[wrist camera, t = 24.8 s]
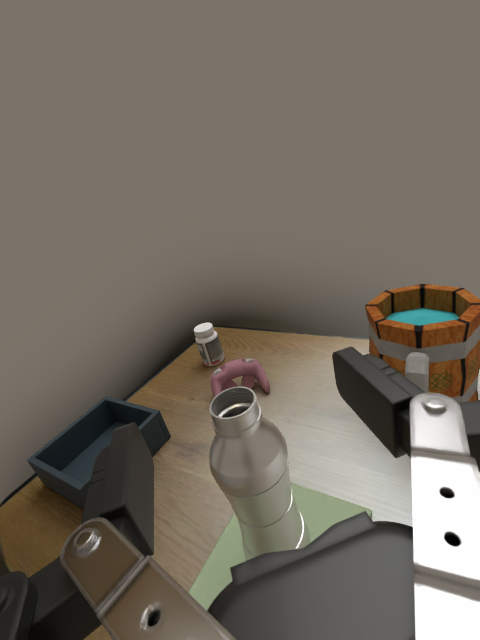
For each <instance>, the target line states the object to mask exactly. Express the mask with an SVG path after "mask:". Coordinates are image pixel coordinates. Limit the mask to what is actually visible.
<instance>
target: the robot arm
mask: <svg viewBox="0 0 480 640" xmlns="http://www.w3.org/2000/svg"><path fill="white" fill-rule="evenodd" d="M332 358H333V365H334V372H335V379H336V385H337V388H338V391H339V393H340V395H341V397H342V398H343V399H344V400H345V402H346V403H347V404H348V405H349V406H350V407H351V408H352V409H353V411H354V412H355V413H356V414H357V415H358V416H359V417H360V418H361V420H362V421H363V422H364V423H365V424H366V425H367V426H368V427H369V429H370V430H371V431H372V432H373V433H374V434H375V435H376V437H377V438H378V439H379V440H380V441H381V442H382V443H383V444H384V446H385V447H386V448H387V449H388V450H389V451H390V452H391V453H392V455H393V456H394V457H395V458H397V457H400V456H402V455H405V454H407V455H408V456H409V457H410V458H411V472H412V511H413V527H410V526H407V525H404V524H400V523H396V522H388V521H376V522H373V521H372V520H371V518H370V517H369V515H368V514H367V512H366V511H364V512H362V513H359V514H357V515H354V516H352V517H350V518H347V519H345V520H342V521H340V522H338V523H335V524H333V525H332V526H331V527H330V528H328V529H327V530H326V531H325V532H323V533H322V534H321V535H320V536H318V537H317V538H316V539H315V540H313V541H312V542H311V543H310V544H308V545H307V546H306V547H304V548H301V549H294V550H286V551H278V552H270V553H264V554H261V555H259V556H257V557H254V558H252V559H249V560H247V561H245V562H242V563H240V564H237V565H235V566H233V567H230V570H231V575H232V580H233V581H232V582H231V583H229V584H228V585H227V586H226V587H225V588H224V589H223V590H222V591H221V592H220V593H219V594H218V596H217V597H216V598H215V599H214V601H213V602H212V603H211V605H210V607H209V608H208V610H207V611H206V610H205V609H204V608H203V607H202V606H201V605H200V604H199V603H198V602H197V601H196V600H195V599H194V598H193V597H192V596H191V595H190V594H189V593H188V592H187V591H186V590H185V589H184V588H183V587H182V586H181V585H180V584H178V583H177V582H176V581H175V580H174V579H173V578H172V577H171V576H170V575H169V574H168V573H167V572H166V571H165V570H164V569H163V568H162V567H161V566H160V565H159V564H158V563H157V562H156V561H155V560H154V559H153V558H151V557H150V556H151V555H153V554H154V465H153V460H152V456H151V453H150V451H149V448H148V446H147V444H146V442H145V440H144V438H143V436H142V434H141V432H140V430H139V428H138V426H137V424H136V423H135V422H133V423H130V424H127V425H124V426H122V427H119V428H116V429H114V430H113V435H112V441H111V445H109V446H107V447H104V448H102V450H101V452H100V453H99V455H98V456H97V458H96V459H95V462H94V466H93V471H92V476H91V480H90V486H89V489H88V494H87V499H86V503H85V508H84V512H83V517H82V522H81V525H80V526H79V527H78V528H76V529H75V530H74V531H73V532H72V533H71V535H70V536H69V537H68V538H67V540H66V542H65V543H64V545H63V548H62V550H61V554H60V556H59V557H58V558H57V559H55V560H54V561H53V562H51V563H50V564H48V565H47V566H45V567H44V568H43V569H41V570H40V571H38V572H37V573H35V574H34V575H32V576H31V577H29V578H28V577H27V576H26V575H25V574H24V573H23V572H20V571H15V572H11V573H8V574H6V575H4V576H2V577H0V640H83V639H84V638H86V637H87V636H88V635H89V634H90V633H92V632H93V631H94V630H95V629H97V628H98V627H99V626H100V625H103V626H104V628H105V629H106V631H107V632H108V633H109V635H110V636H111V638H112V639H113V640H480V476H479V472H480V400H479V401H470V402H459V403H457V402H456V401H455V400H454V399H452V398H451V397H449V396H446V395H443V394H439V393H426V392H424V391H423V390H422V389H420V388H419V387H418V386H417V385H415V384H414V383H413V382H411V381H410V380H409V379H407V378H406V377H405V376H403V375H402V374H401V373H398V371H397V370H395V369H394V368H393V367H390V365H389V364H388V363H386V362H385V361H384V360H382V359H381V358H378V357H376V356H373V355H370V354H366V355H362V354H361V353H359V352H358V351H357V350H356V349H354V348H353V347H348V348H345V349H342V350H340V351H337V352H334V353H333V355H332Z"/></svg>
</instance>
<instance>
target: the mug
mask: <svg viewBox="0 0 480 640" xmlns="http://www.w3.org/2000/svg"><path fill="white" fill-rule="evenodd" d="M365 308H366V312H367V316H368V321H369V332H370V346H369V352H370V355H373V356H376V357H378V358H381V359H382V360H384V361H385V362H386V363H388V364H389V365H390V367H393V368H394V369H395V370H397V371H398V373H401V374H402V375H403V376H405V377H406V378H407V379H409V380H410V381H411V382H413V383H414V384H415V385H417V386H418V387H419V388H420V389H422V390H423V391H424V392H426V393H439V394H443V395H446V396H449V397H451V398H452V399H454V400H455V401H456V402H457V403H459V402H470V401H478V392H477V383H478V373H479V369H480V299H479V298H477V297H476V296H474V295H473V294H471V293H470V292H469V291H467V290H466V289H464V288H457V287H448V286H438V285H429V284H419V285H414V286H408V287H403V288H397V289H392V290H387V291H384V292H383V293H381V294H380V295H379V296H377V297H376V298H375V299H373V300H372V301H370V302H369V303H368V304H366V305H365Z"/></svg>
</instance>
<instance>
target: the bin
mask: <svg viewBox="0 0 480 640" xmlns="http://www.w3.org/2000/svg"><path fill="white" fill-rule="evenodd" d="M133 422H135V423H136V424H137V426H138V428H139V430H140V432H141V434H142V436H143V438H144V440H145V442H146V444H147V446H148V448H149V451H150V453H151V456H152V457H153V456H154V455H155V454H156V452H157V451H158V450H159V449H160V448H161V447H162V446H163V445H164V444H165V442H166V441H167V440H168V439H169V438H170V437H171V436H170V434H169V431H168V429H167V427H166V425H165V422H164V420H163V418H162V415H161V413H160V411H159V410H155V409H151V408H148V407H144V406H140V405H137V404H133V403H129V402H126V401H122V400H118V399H114V398H111V397H107V396H106V397H105V398H103V399H102V400H101V401H100V402H98V403H97V404H96V405H95V406H93V407H92V408H91V409H90V410H88V411H87V412H86V413H85V414H83V415H82V416H81V417H80V418H79V419H77V420H76V421H75V422H74V423H72V424H71V425H70V426H69V427H68V428H66V429H65V430H64V431H62V432H61V433H60V434H59V435H57V436H56V437H55V438H54V439H53V440H51V441H50V442H49V443H48V444H46V445H45V446H44V447H43V448H41V449H40V450H39V451H38V452H36V453H35V454H34V455H33V456H31V457H30V458H29V459H28V460H27V461H28V462H29V464H30V465H31V467H32V468H33V469H34V471H35V472H36V474H37V475H38V477H39V478H40V479H41V481H42V482H43V483H44V485H45V486H47V487H48V488H50V489H52V490H53V491H55V492H56V493H58V494H60V495H61V496H63V497H64V498H66V499H68V500H69V501H71V502H73V503H74V504H76V505H77V506H79V507H81V508H82V509H84V508H85V503H86V499H87V494H88V489H89V486H90V480H91V476H92V471H93V466H94V462H95V459H96V458H97V456H98V455H99V453H100V452H101V450H102V448H104V447H107V446H109V445H111V441H112V435H113V430H114V429H116V428H119V427H122V426H124V425H127V424H130V423H133Z"/></svg>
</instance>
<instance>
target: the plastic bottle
mask: <svg viewBox="0 0 480 640" xmlns="http://www.w3.org/2000/svg"><path fill="white" fill-rule="evenodd" d="M210 414H211V417H212V420H213V427H214V430H215V432H216V435H215V437H214V440H213V442H212V445H211V448H210V469H211V473H212V475H213V477H214V479H215V480H216V482H217V484H218V485H219V487H220V488H221V490H222V491H223V493H224V494H225V496H226V497H227V499H228V500H229V502H230V504H231V506H232V508H233V510H234V512H235V514H236V516H237V518H238V522H239V526H240V529H241V533H242V544H243V550H244V555H245V558H246V561H247V560H249V559H252V558H254V557H257V556H259V555H261V554H264V553H270V552H278V551H286V550H294V549H301V548H304V547H306V546H307V545H308V544H310V543H311V540H310V533H309V529H308V527H307V524H306V522H305V520H304V518H303V516H302V515H301V513H300V512H299V510H298V507H297V505H296V502H295V500H294V497H293V494H292V490H291V483H290V478H289V465H288V451H287V445H286V441H285V438H284V437H283V435H282V433H281V432H280V431H279V429H278V428H277V427H276V426H275V425H274V424H273V423H271V422H270V421H268V420H267V419H265V418H264V417H262V412H261V408H260V406H259V404H258V401H257V397H256V395H255V393H254V391H253V390H252V389H250V388H247V387H233V388H229V389H226V390H224V391H222V392H221V393H219V394H218V395H217V396H216V397H215V398H214V399H213V400H212V402H211V404H210Z"/></svg>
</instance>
